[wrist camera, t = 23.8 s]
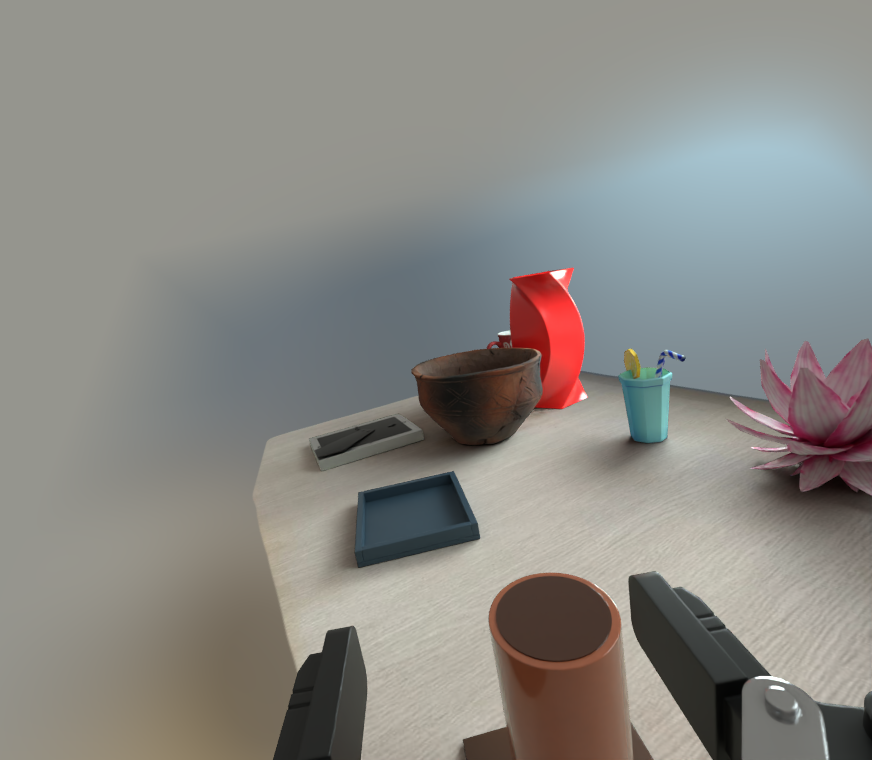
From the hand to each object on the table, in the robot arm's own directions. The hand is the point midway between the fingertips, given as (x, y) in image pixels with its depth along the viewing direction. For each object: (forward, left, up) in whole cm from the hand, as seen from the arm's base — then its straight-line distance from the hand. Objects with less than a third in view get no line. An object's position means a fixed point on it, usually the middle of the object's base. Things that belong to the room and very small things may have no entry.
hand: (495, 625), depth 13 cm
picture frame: (-9, +79, -21) cm, 82 cm away
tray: (-2, +44, -21) cm, 48 cm away
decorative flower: (+48, +32, -21) cm, 61 cm away
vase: (+33, +82, -21) cm, 91 cm away
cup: (+38, +52, -21) cm, 68 cm away
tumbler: (+4, +8, -20) cm, 22 cm away
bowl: (+15, +70, -21) cm, 74 cm away
